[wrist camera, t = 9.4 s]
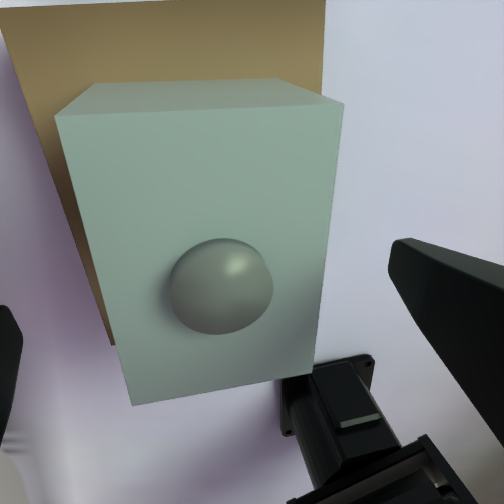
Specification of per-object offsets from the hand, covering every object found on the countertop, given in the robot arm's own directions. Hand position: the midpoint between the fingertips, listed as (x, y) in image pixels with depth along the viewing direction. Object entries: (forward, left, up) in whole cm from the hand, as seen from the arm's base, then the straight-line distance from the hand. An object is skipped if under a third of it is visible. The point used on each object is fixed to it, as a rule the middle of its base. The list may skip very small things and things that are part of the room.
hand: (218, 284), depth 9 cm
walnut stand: (0, 0, -8) cm, 8 cm away
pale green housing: (0, 0, -5) cm, 5 cm away
